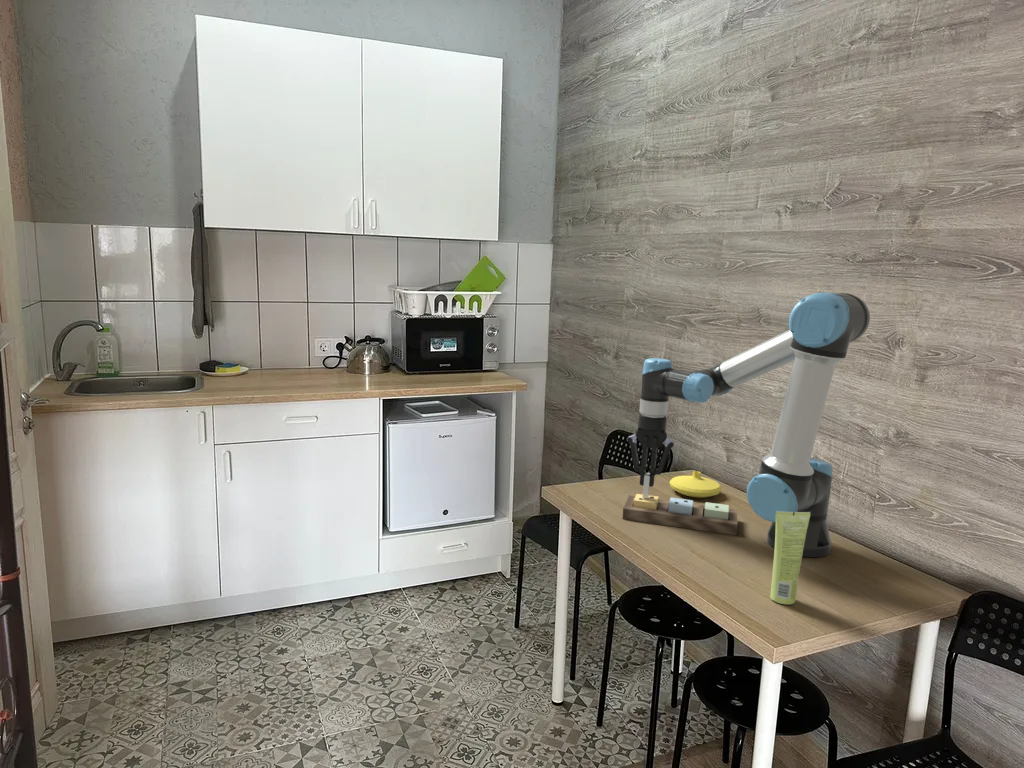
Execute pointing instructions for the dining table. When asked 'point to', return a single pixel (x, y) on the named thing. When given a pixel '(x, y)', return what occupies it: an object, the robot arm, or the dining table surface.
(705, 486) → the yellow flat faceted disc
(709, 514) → the tile
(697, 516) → the board
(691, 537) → the dining table surface
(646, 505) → the tile
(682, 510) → the tile
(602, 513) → the dining table surface
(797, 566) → the tube
